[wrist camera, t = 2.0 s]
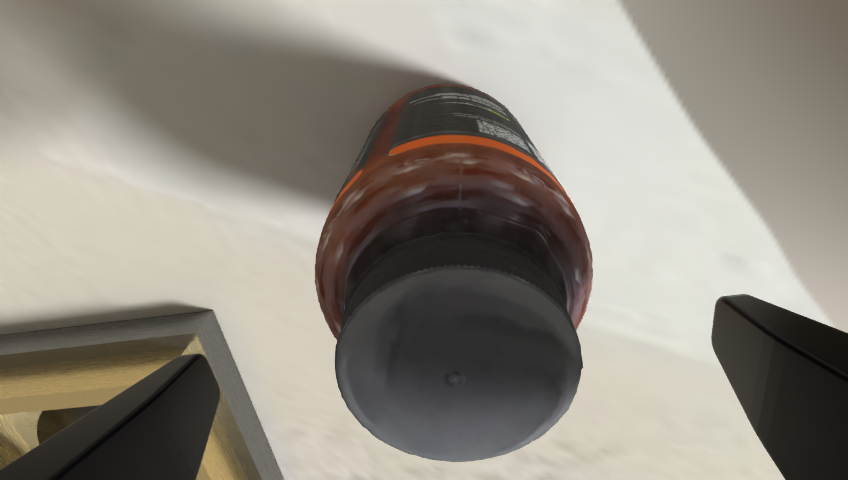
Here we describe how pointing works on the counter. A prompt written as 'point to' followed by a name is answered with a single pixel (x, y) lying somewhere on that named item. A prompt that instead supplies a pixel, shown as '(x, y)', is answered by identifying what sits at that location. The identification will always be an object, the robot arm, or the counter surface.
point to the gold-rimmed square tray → (124, 386)
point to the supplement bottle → (454, 281)
